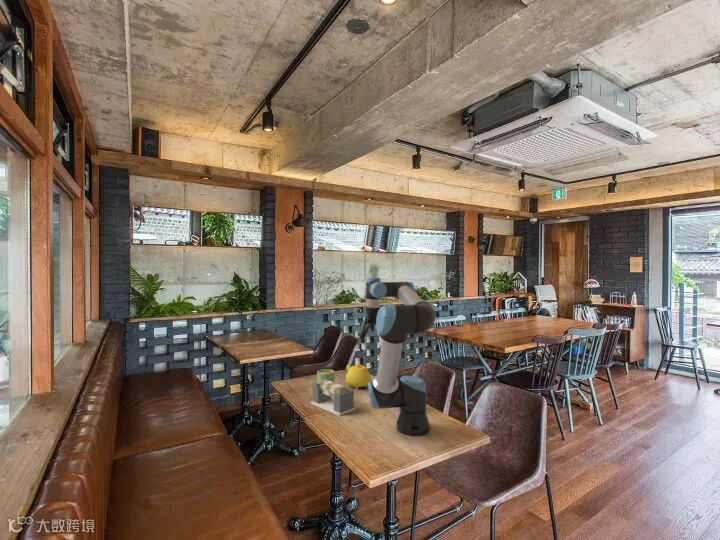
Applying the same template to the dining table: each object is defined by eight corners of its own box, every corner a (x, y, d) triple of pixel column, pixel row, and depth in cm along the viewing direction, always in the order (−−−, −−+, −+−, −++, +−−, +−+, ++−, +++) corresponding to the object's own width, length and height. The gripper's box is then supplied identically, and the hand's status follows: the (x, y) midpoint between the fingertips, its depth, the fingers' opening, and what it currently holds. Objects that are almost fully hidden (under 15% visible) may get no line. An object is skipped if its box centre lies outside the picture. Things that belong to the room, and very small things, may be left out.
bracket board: (355, 409, 195) (355, 390, 195) (339, 415, 187) (339, 395, 187) (326, 398, 212) (326, 380, 211) (310, 403, 204) (310, 385, 204)
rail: (345, 398, 195) (346, 386, 195) (339, 400, 192) (339, 388, 192) (326, 390, 207) (326, 379, 207) (319, 392, 204) (319, 380, 204)
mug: (328, 396, 215) (328, 375, 215) (313, 393, 220) (313, 372, 220) (340, 389, 226) (340, 369, 225) (326, 386, 231) (326, 367, 231)
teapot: (337, 383, 238) (337, 361, 238) (357, 379, 247) (357, 358, 246) (354, 392, 221) (354, 369, 221) (375, 387, 230) (376, 365, 230)
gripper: (383, 304, 208) (383, 342, 209) (350, 308, 191) (350, 350, 191) (394, 305, 203) (393, 344, 203) (361, 309, 185) (361, 352, 186)
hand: (373, 347), depth 197 cm, fingers open, 13 cm apart
